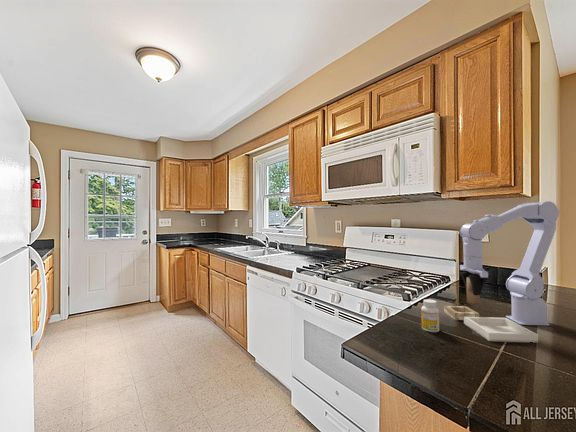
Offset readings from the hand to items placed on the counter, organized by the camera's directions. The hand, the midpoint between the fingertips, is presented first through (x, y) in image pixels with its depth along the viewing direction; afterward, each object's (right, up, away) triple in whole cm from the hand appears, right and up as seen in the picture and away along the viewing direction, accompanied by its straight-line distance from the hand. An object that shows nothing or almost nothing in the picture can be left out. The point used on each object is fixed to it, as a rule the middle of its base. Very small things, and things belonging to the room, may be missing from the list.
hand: (473, 293), depth 99 cm
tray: (+2, -10, -10) cm, 14 cm away
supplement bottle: (-19, -11, -7) cm, 23 cm away
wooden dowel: (0, -3, 0) cm, 3 cm away
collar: (-1, -10, +6) cm, 12 cm away
